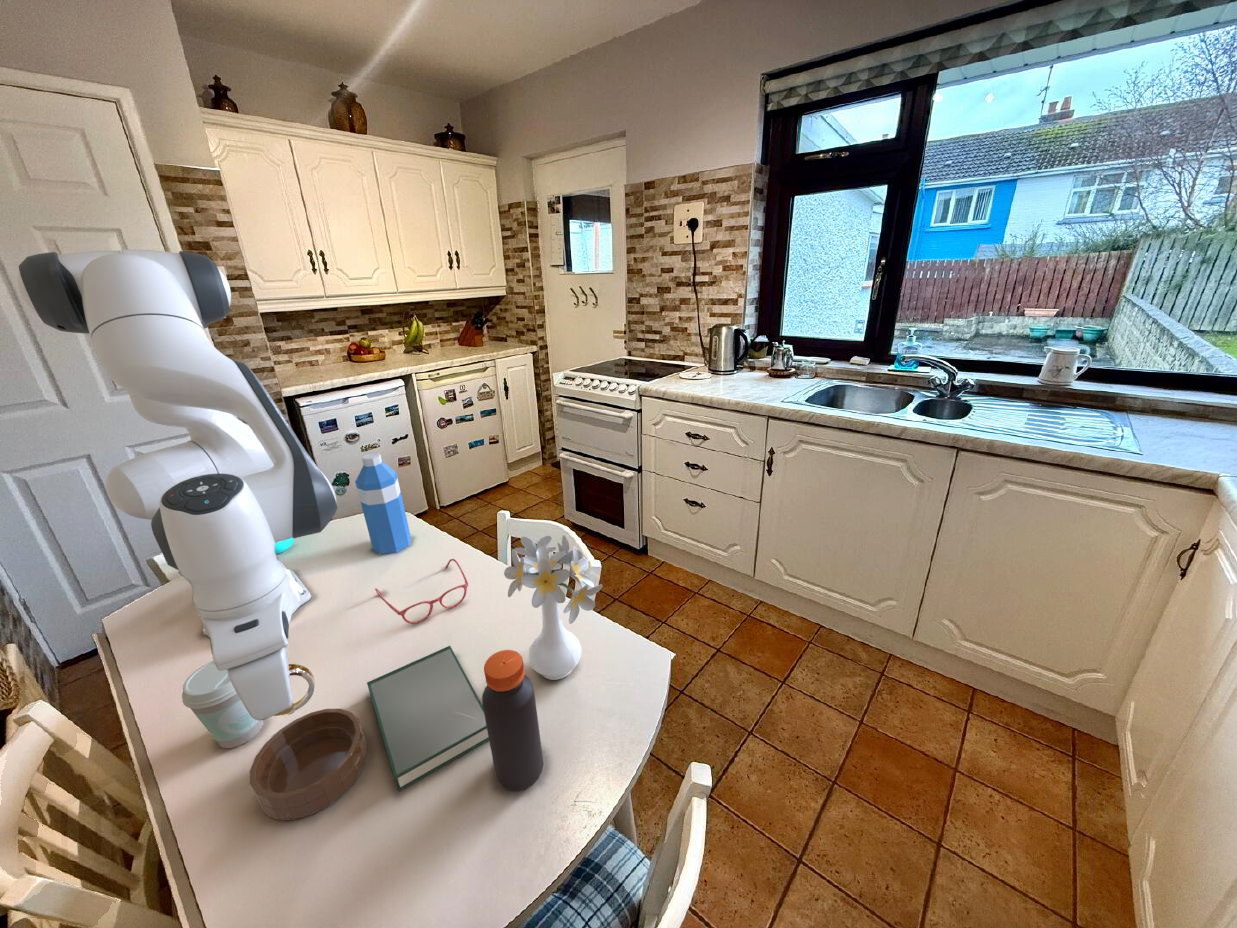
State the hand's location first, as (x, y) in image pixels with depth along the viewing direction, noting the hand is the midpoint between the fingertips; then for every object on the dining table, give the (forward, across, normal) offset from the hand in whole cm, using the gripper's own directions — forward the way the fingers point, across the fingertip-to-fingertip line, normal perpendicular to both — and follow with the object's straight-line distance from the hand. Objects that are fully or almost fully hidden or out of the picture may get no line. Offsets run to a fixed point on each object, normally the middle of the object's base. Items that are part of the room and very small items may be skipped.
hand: (282, 689), depth 64 cm
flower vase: (+16, +4, +38) cm, 42 cm away
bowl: (+16, 0, 0) cm, 16 cm away
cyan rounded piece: (+17, -76, -3) cm, 78 cm away
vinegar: (+16, +18, +24) cm, 34 cm away
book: (+16, 0, +16) cm, 23 cm away
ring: (+4, 0, 0) cm, 4 cm away
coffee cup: (+17, -14, -9) cm, 24 cm away
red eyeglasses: (+17, -30, +24) cm, 42 cm away
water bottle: (+17, -58, +23) cm, 65 cm away
